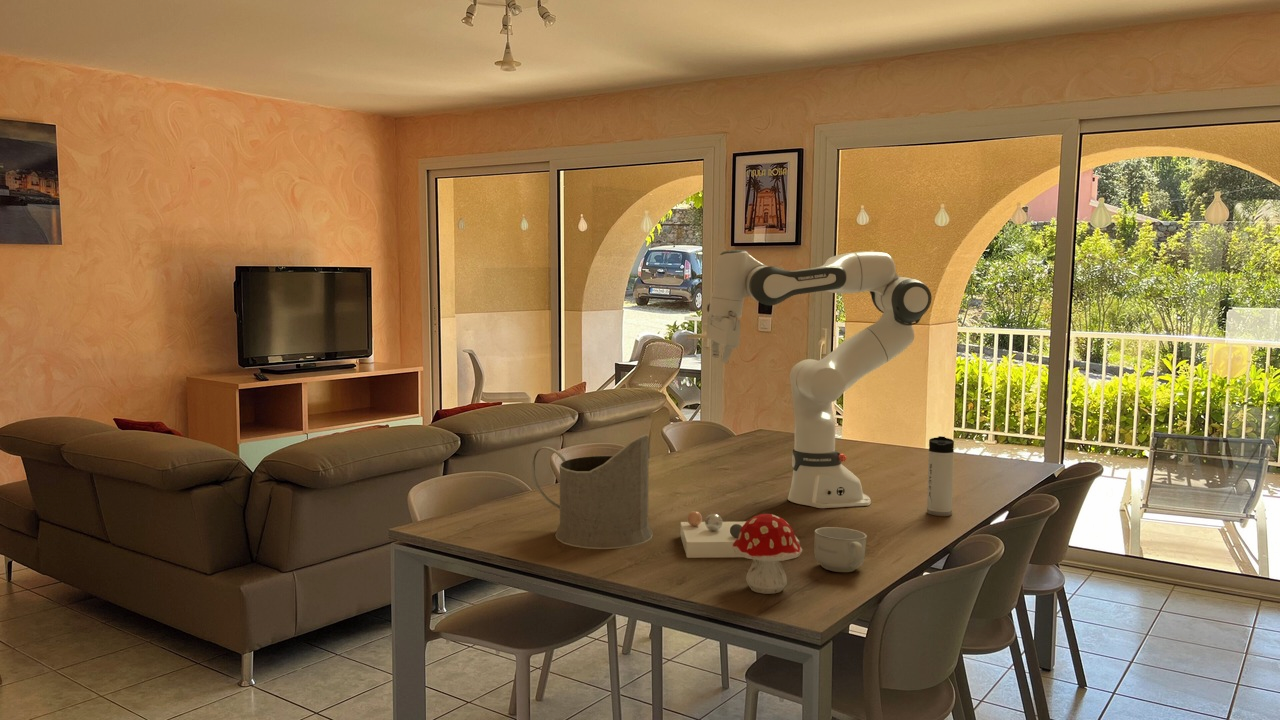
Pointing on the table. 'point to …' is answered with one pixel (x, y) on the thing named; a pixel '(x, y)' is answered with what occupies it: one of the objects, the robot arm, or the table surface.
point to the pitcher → (604, 498)
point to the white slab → (709, 540)
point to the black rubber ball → (735, 530)
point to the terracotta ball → (694, 518)
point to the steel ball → (713, 522)
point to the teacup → (839, 548)
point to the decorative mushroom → (766, 551)
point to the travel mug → (940, 476)
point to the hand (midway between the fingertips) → (719, 359)
